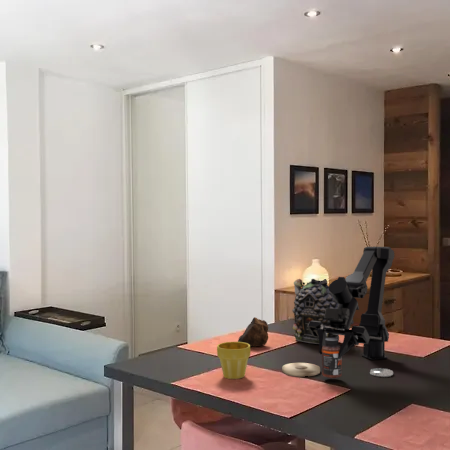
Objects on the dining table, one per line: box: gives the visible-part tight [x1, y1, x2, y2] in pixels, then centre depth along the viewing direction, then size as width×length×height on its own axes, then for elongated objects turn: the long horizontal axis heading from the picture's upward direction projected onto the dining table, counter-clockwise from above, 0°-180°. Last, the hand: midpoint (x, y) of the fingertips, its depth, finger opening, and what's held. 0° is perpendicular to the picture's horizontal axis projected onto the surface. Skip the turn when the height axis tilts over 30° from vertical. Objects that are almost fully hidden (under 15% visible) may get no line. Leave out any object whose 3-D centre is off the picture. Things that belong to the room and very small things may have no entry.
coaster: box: [281, 362, 321, 378], centre depth 185 cm, size 12×12×1 cm
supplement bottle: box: [321, 338, 343, 379], centre depth 175 cm, size 6×6×11 cm
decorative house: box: [291, 278, 340, 345], centre depth 228 cm, size 21×15×25 cm
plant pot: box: [216, 341, 251, 380], centre depth 180 cm, size 10×10×10 cm
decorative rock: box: [237, 317, 269, 348], centre depth 220 cm, size 12×6×11 cm, turn 103°
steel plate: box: [369, 367, 394, 378], centre depth 182 cm, size 7×7×1 cm
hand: (329, 355), depth 174 cm, fingers closed on supplement bottle, 6 cm apart
